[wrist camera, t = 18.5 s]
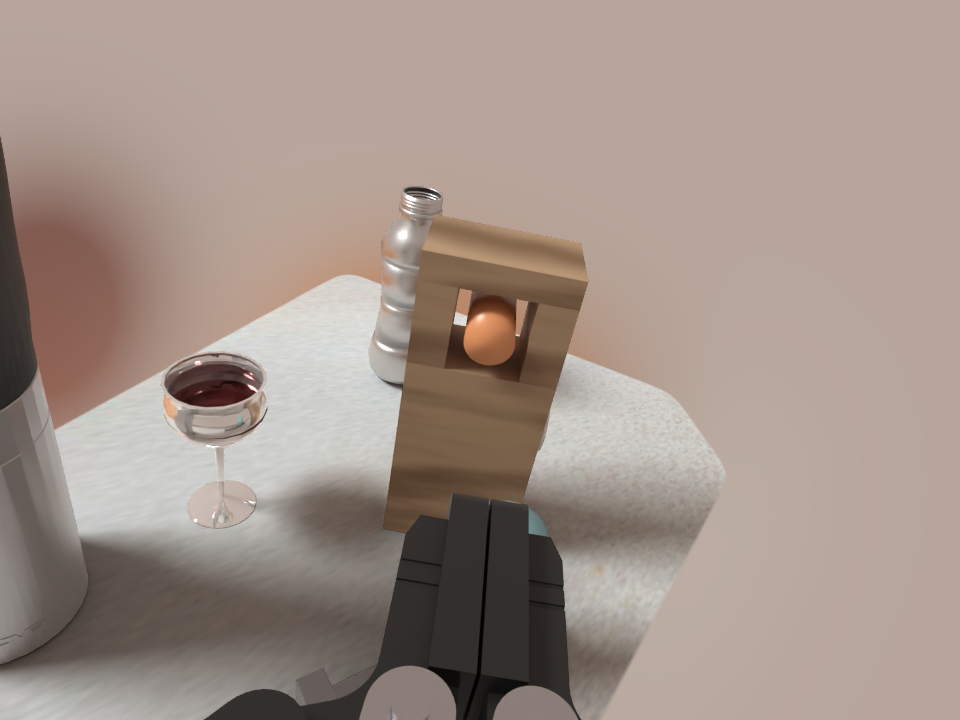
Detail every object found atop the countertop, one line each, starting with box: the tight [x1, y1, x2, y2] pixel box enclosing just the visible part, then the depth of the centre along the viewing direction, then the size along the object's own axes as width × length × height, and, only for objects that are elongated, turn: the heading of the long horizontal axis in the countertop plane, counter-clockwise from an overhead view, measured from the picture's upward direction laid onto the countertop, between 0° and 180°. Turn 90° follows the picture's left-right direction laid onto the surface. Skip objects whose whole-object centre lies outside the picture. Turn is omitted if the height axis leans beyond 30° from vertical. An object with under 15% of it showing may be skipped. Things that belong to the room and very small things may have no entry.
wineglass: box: [161, 351, 268, 528], centre depth 47 cm, size 7×7×12 cm
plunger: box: [464, 291, 517, 365], centre depth 43 cm, size 7×3×3 cm, turn 176°
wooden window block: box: [383, 215, 588, 533], centre depth 47 cm, size 6×10×24 cm, turn 86°
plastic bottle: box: [369, 186, 443, 384], centre depth 63 cm, size 6×7×20 cm
